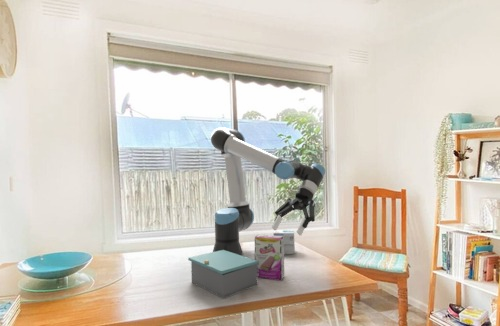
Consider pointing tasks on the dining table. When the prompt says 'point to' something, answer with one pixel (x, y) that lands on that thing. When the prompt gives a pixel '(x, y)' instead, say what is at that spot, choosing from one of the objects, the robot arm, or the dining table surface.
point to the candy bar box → (269, 256)
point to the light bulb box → (287, 240)
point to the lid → (222, 261)
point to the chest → (224, 279)
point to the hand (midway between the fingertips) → (285, 231)
